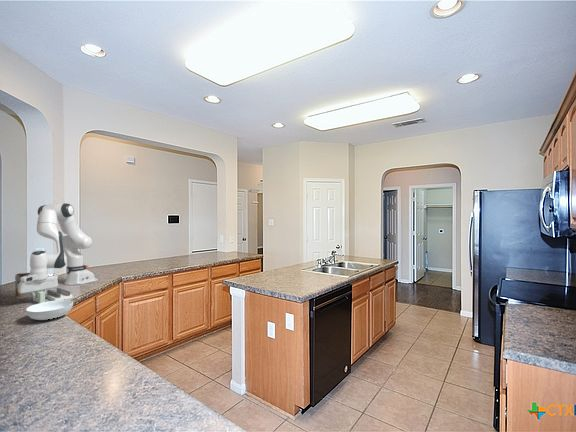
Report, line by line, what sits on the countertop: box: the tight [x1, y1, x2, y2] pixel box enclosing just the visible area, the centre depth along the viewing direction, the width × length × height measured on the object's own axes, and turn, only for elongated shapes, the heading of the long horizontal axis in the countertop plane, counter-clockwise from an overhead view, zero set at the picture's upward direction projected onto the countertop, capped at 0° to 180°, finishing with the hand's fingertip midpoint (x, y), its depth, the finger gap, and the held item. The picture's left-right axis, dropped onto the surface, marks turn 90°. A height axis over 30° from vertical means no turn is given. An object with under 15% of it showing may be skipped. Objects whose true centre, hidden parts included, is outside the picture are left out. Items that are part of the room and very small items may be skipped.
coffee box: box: [14, 272, 33, 300], centre depth 202 cm, size 9×6×16 cm
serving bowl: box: [25, 299, 74, 321], centre depth 167 cm, size 21×21×7 cm
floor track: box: [45, 287, 73, 301], centre depth 202 cm, size 10×17×4 cm, turn 58°
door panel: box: [32, 290, 46, 304], centre depth 192 cm, size 2×12×7 cm, turn 58°
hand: (38, 297), depth 192 cm, fingers closed on door panel, 2 cm apart
